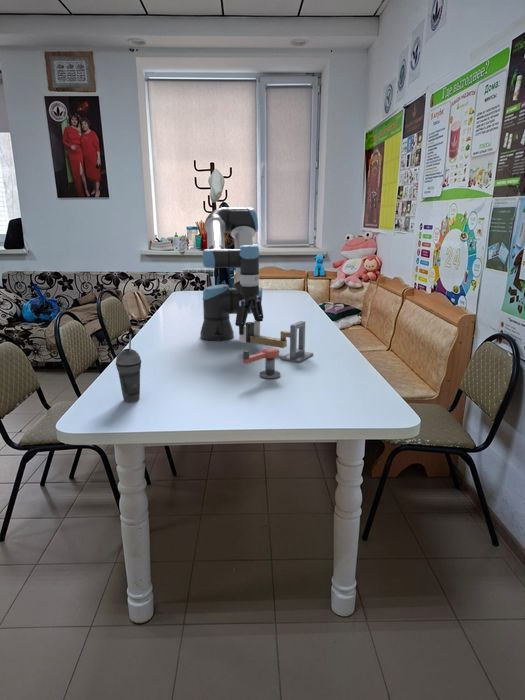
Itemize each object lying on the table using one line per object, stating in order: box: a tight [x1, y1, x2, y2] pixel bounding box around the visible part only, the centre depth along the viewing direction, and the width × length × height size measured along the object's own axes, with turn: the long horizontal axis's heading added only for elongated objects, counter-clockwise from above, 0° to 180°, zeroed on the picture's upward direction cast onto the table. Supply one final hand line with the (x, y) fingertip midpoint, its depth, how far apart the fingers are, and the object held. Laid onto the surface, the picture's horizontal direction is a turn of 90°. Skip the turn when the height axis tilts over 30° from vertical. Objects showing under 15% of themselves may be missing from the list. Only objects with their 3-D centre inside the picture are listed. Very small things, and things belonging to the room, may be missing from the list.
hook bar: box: [245, 321, 290, 349], centre depth 179 cm, size 21×4×8 cm, turn 58°
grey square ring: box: [280, 320, 314, 364], centre depth 172 cm, size 8×12×14 cm, turn 148°
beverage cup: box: [115, 334, 142, 403], centre depth 130 cm, size 7×7×20 cm
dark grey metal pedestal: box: [259, 358, 281, 380], centre depth 153 cm, size 7×7×7 cm
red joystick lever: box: [242, 347, 280, 365], centre depth 148 cm, size 15×6×4 cm, turn 137°
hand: (250, 339), depth 184 cm, fingers open, 10 cm apart
